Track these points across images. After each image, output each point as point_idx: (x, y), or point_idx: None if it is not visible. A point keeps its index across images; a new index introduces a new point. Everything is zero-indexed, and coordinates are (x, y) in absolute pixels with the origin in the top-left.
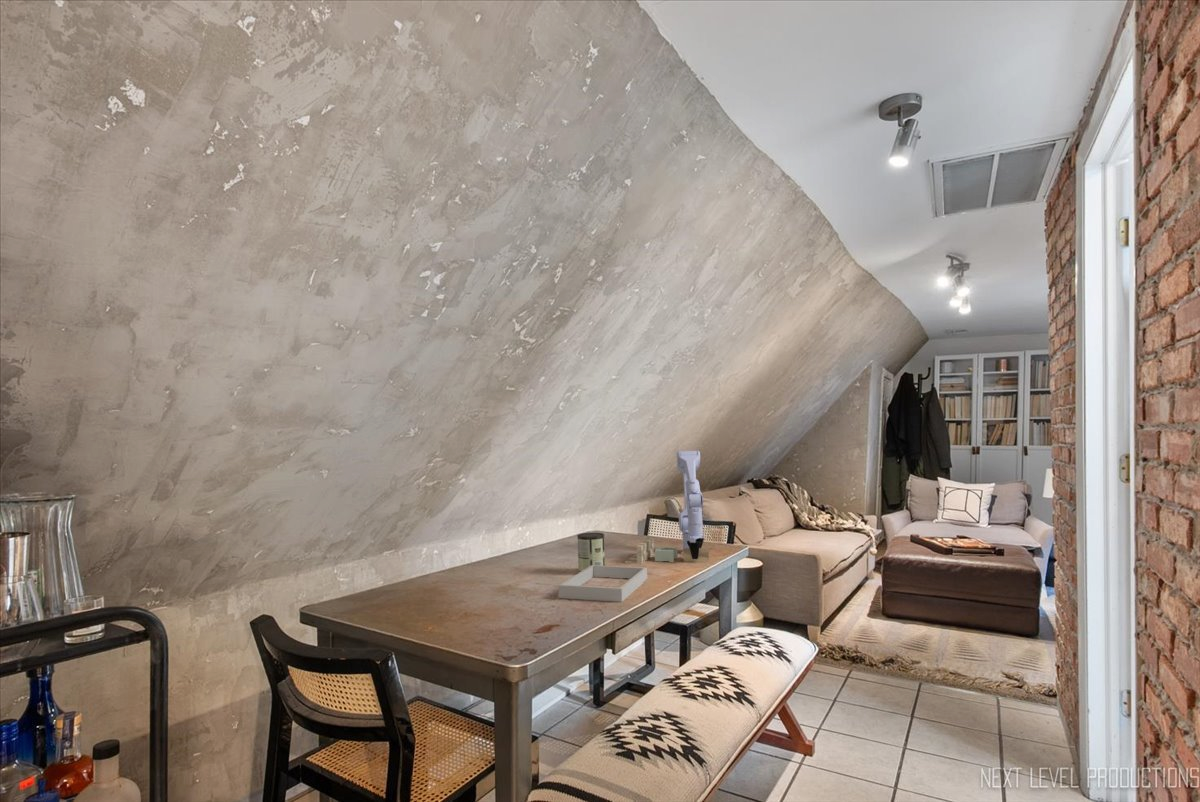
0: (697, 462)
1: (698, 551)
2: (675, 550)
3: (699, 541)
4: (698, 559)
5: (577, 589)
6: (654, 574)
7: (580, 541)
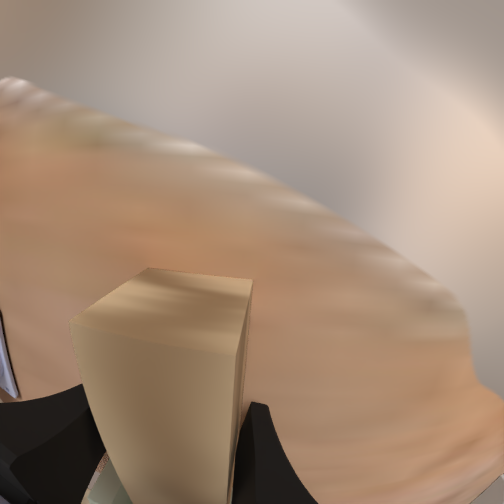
0: None
1: (286, 461)
2: (117, 498)
3: (48, 475)
4: (242, 389)
5: None
6: (466, 485)
7: None
